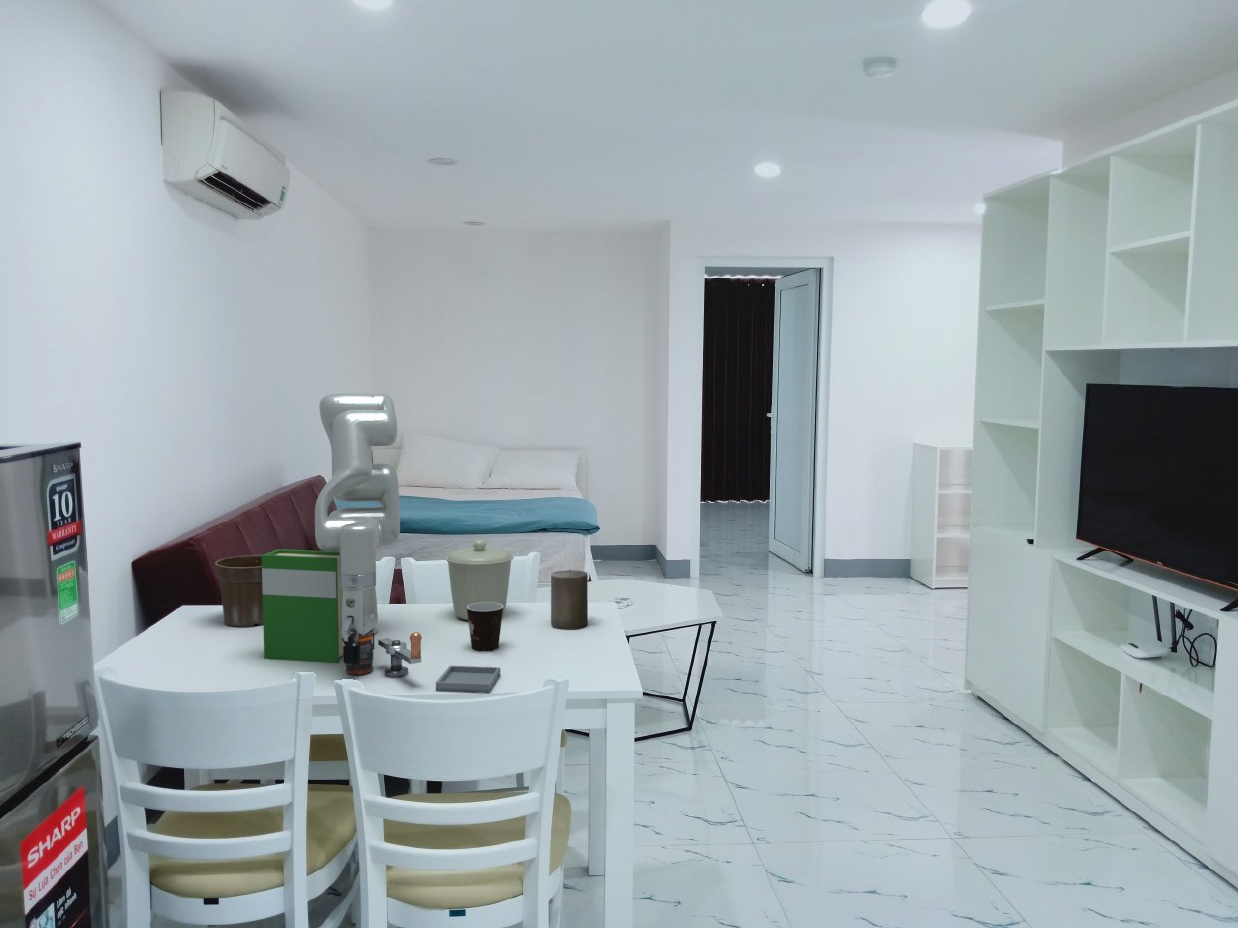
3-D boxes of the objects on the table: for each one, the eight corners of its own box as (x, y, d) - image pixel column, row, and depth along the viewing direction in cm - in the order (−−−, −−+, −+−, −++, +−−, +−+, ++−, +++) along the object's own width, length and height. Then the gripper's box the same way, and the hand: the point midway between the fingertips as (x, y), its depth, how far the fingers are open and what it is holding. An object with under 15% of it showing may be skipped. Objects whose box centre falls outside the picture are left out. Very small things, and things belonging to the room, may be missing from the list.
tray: (435, 690, 192) (435, 682, 192) (449, 673, 203) (449, 665, 203) (489, 692, 191) (489, 684, 191) (500, 675, 202) (500, 667, 202)
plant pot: (291, 613, 252) (290, 554, 250) (271, 629, 235) (269, 567, 234) (231, 613, 251) (229, 554, 249) (206, 629, 235) (204, 566, 233)
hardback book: (351, 653, 217) (349, 552, 214) (337, 663, 209) (335, 558, 207) (280, 649, 219) (278, 549, 217) (264, 658, 212) (261, 555, 210)
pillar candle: (593, 627, 241) (594, 570, 240) (558, 631, 237) (559, 573, 236) (578, 618, 250) (579, 563, 249) (544, 622, 246) (545, 566, 245)
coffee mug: (468, 642, 227) (468, 602, 226) (503, 642, 227) (503, 602, 226) (464, 657, 215) (464, 614, 214) (501, 656, 216) (502, 614, 215)
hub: (381, 677, 200) (381, 656, 200) (389, 669, 205) (388, 649, 205) (404, 678, 200) (403, 657, 199) (411, 670, 205) (411, 650, 204)
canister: (515, 608, 260) (516, 533, 258) (510, 625, 242) (510, 546, 240) (450, 608, 259) (450, 533, 257) (440, 625, 241) (440, 545, 239)
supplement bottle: (379, 669, 206) (378, 619, 205) (363, 677, 200) (362, 625, 199) (356, 665, 208) (355, 616, 207) (339, 674, 202) (338, 623, 201)
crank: (373, 645, 206) (373, 616, 206) (392, 642, 209) (392, 613, 208) (408, 666, 192) (408, 635, 191) (428, 662, 195) (428, 632, 194)
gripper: (360, 589, 193) (362, 669, 195) (388, 571, 210) (388, 645, 212) (325, 588, 194) (327, 668, 195) (355, 571, 211) (356, 644, 212)
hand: (359, 656), depth 204 cm, fingers open, 9 cm apart
